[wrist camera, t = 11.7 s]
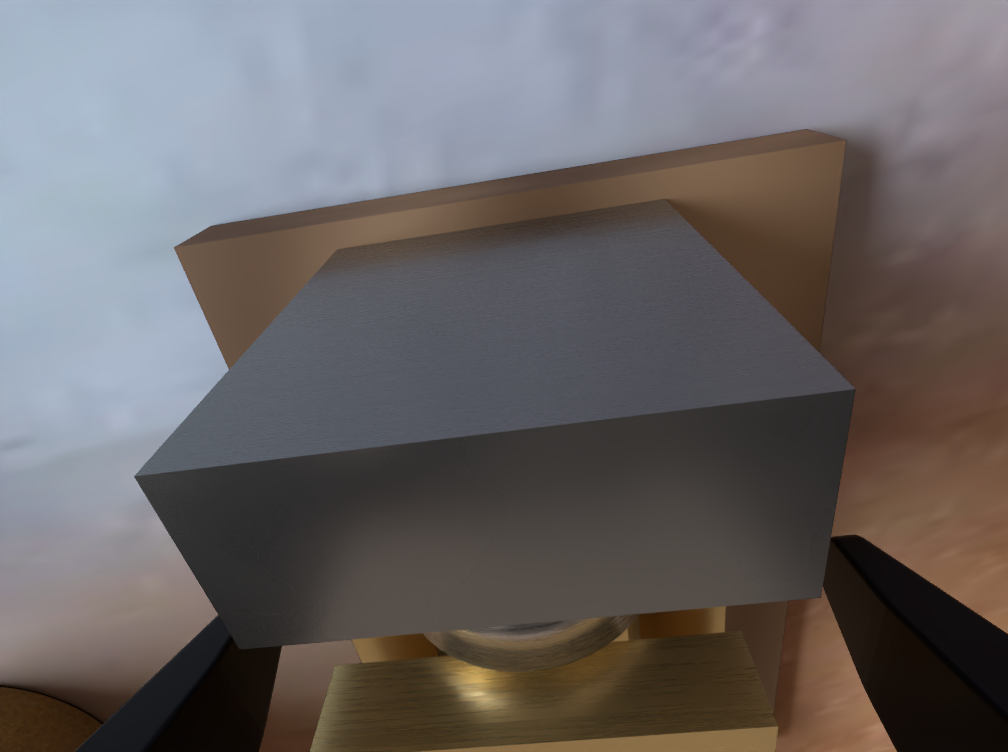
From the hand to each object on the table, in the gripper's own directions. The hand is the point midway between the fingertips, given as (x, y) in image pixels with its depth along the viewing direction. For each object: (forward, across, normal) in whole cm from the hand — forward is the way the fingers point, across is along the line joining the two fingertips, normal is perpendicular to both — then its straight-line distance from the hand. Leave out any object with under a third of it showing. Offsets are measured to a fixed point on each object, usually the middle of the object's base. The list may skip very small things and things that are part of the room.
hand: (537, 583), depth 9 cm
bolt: (+4, 0, +5) cm, 6 cm away
